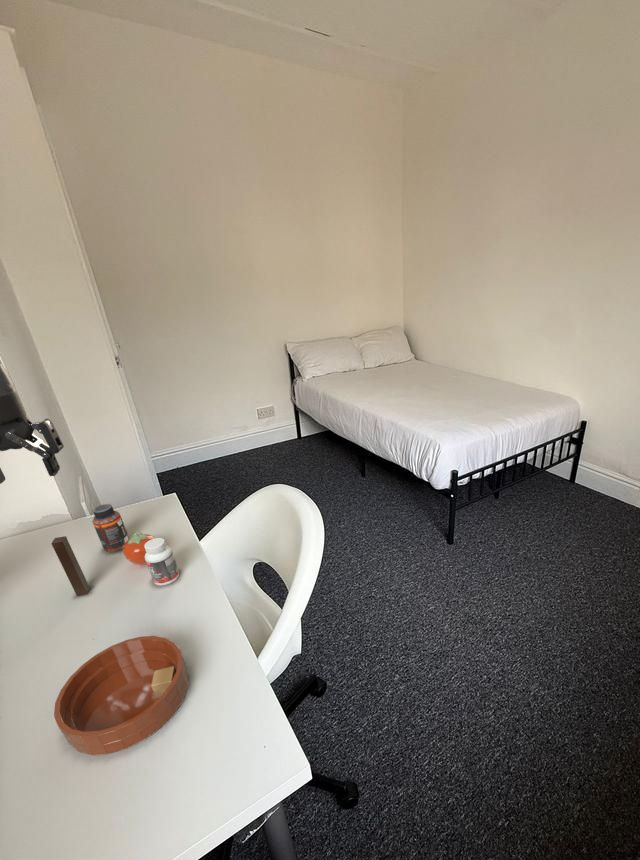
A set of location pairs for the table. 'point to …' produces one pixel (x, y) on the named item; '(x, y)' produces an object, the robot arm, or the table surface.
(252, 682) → the table surface
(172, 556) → the pill bottle
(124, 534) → the supplement bottle
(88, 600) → the table surface
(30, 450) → the robot arm
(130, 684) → the bowl
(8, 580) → the table surface
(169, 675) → the block
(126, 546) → the tomato
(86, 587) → the stick
